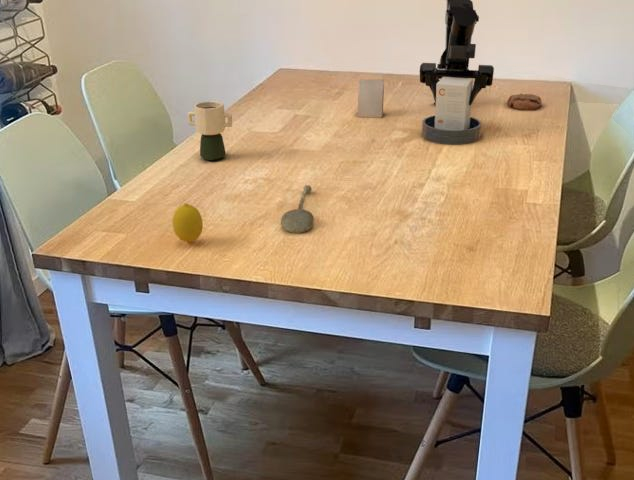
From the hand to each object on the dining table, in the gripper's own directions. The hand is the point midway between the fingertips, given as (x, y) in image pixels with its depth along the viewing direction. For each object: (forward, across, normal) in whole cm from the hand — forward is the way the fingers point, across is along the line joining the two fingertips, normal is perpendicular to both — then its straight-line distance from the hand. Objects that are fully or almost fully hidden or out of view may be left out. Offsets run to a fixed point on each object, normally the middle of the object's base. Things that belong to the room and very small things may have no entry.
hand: (453, 103), depth 197 cm
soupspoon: (+46, -27, -34) cm, 63 cm away
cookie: (-18, +20, +30) cm, 40 cm away
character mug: (+26, -56, -14) cm, 63 cm away
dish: (+5, 0, +7) cm, 9 cm away
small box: (+4, 0, +6) cm, 8 cm away
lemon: (+59, -45, -48) cm, 88 cm away
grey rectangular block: (-5, -24, +18) cm, 30 cm away
